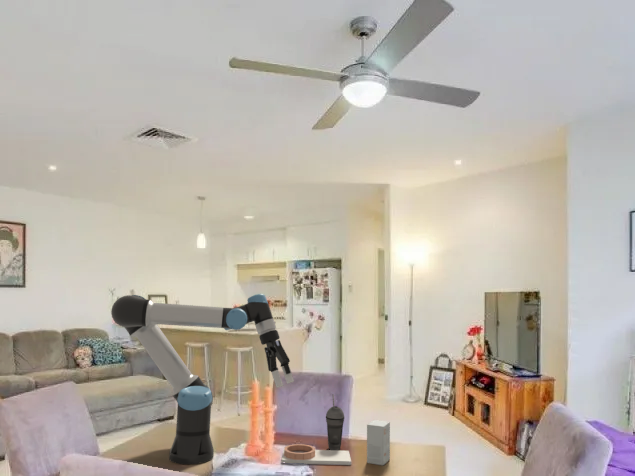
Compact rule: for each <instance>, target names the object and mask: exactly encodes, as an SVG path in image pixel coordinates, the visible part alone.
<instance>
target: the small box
mask: <svg viewBox="0 0 635 476" xmlns="http://www.w3.org/2000/svg"><path fill="white" fill-rule="evenodd" d="M390 450H391V422H390V421H387V420H378V419H373V420H372V421H370V422H368V423H367V424H366V463H367V464H373V465H377V466H385V464H387V463H388V461H389V460H390V459H391V451H390Z"/></svg>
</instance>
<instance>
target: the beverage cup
mask: <svg viewBox="0 0 635 476" xmlns="http://www.w3.org/2000/svg"><path fill="white" fill-rule="evenodd" d="M325 421H326V429H327V430H326V431H327V445H328V450H329V449H330V450H340V451H341V447H342V439H343V427H344V422H345V412H344V411H343V410H342V409H341V407H339V406H338V405H337V406H336V405H335V395H334V393H333V394H332V406H331V407H329V408H328V409H327V411H326V415H325Z"/></svg>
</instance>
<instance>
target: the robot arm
mask: <svg viewBox="0 0 635 476" xmlns="http://www.w3.org/2000/svg"><path fill="white" fill-rule="evenodd" d="M110 313H111V318H112V319H113V321H114V323H116V325H118V326H120V327H122V328H124V329H125V330H126V332H127V333H128V335H129V336H130V337H131V338H132V337H133V338H137V340H138V341H139V342H140V344H141V345H142V347H143V348H144V349H145V352H147V354H148V355H149V357H150V358H151V359H152V361H153V363H154V364H155V366H157V368H158V369H159V371H160V372H161V374H162V375H163V377H164V378H165V380H166V381H167V382H168V384H169V385H170V386H171V388H172V392H171V393H172V394H171V395H172V397H173V398H174V400H175V401H176V403H177V410H176V411H177V412H176V426H175V437H174V440H173V441H172V442H173V443H172V445H171V448H170V450H169V457H168V458H169V461H170V462H172V463H174V464H178V465H198V464H202V463H206V462H209V461H211V460H212V459H213V458H214V446H213V441H212V438H211V435H210V433H211V432H210V431H211V413H212V412H211V411H212V406H213V400H214V398H213V397H214V396H213V393H212V391H211V388H210V387H208V385H206V384H205V383H204V382H203V380H202V379H201V378H200V376H199V375H198V374H193V373H192V372H191V371H190V369H189V367H188V366H187V365H186V363H185V362H184V361H183V359H182V357H180V356H181V355H179V353H178V352H177V351H176V349H175V348H174V347H173V345H172V343H171V341H170V340H169V339H168V337H167V336H166V335H165V333H164V332H163V331H162V329H161V328H160V326H159V325H164V326H178V327H179V326H182V327H198V328H199V327H200V328H214V329H215V328H216V329H224V330H225V331H229V330H235V331H239V330H241V329H243V328H244V327H245V326H246V325H248V324H249V323H254V325H255V328H256V329H255V330H256V331H257V335H259V336H258V338H259V340H260V343H261V345H262V346H263V345H266V347H265V346H264V352H265V357H266V363H267V368H268V371H269V372H271V375H272V379H273V381H274V384H275V388H276V389H278V388H280V387H283V386H284V384H283V380H282V377H281V374H280V371H279V368H278V366H277V360H278V362H279V363H280V367H281V370H282V373H283V376H284V379H285V382H286V384H287V385H289V384H292V383H294V382H295V380H294V379H295V378H294V377H293V374H292V371H291V367H290V362H291V360H290V358H289V356H288V354H287V352H286V351H285V349H284V346H283V345H282V343H281V340H280V334H279V332H278V330H277V327H276V321H275V320H274V318H273V317H274V316H273V314H272V310H271V308H270V305H269V302H268V300H267V297H266V295H265V293H257V294H254V295H252V296H249V297H248V298H247V303H245V304H242V305H240V306H236V307H222V306H219V307H218V306H208V305H207V306H205V305H193V304H192V305H191V304H176V303H160V302H154V301H152V299H147V298H145V297H143V296H141V295H139V294H133V295H131V294H129V295H124V296H123V295H122V296H120V297H119V298H117V299H116V300H115V301H114V303H113V304H112V307H111V312H110Z"/></svg>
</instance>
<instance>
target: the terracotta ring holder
mask: <svg viewBox="0 0 635 476" xmlns="http://www.w3.org/2000/svg"><path fill="white" fill-rule="evenodd" d="M315 450H316V447H315V446H313V445H308V444H303V443H302V444H301V443H299V444H297V443H296V444H290V445H289V444H288V445H287V446H285V447H284V449H283V451H284V456H285V457H287V458H290V459H294V460H306V459H311V458H313V457H315Z"/></svg>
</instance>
